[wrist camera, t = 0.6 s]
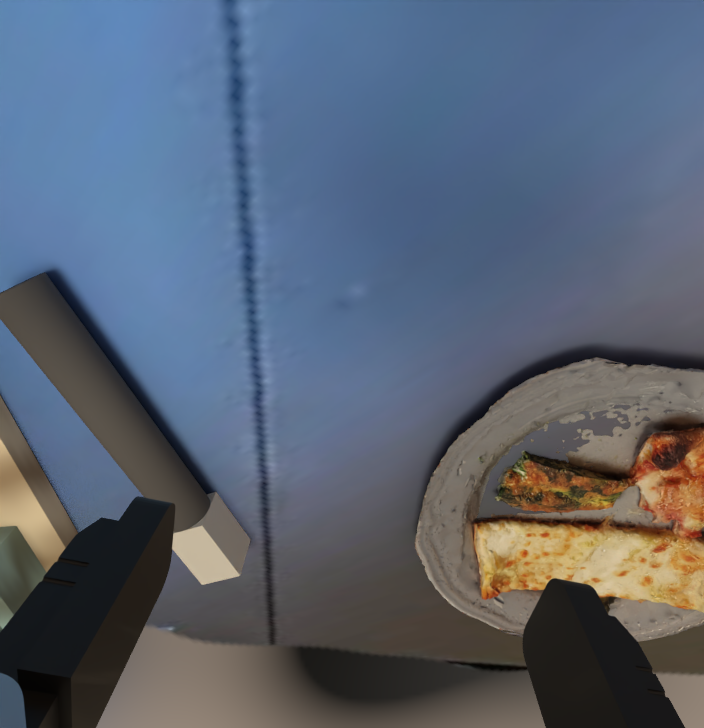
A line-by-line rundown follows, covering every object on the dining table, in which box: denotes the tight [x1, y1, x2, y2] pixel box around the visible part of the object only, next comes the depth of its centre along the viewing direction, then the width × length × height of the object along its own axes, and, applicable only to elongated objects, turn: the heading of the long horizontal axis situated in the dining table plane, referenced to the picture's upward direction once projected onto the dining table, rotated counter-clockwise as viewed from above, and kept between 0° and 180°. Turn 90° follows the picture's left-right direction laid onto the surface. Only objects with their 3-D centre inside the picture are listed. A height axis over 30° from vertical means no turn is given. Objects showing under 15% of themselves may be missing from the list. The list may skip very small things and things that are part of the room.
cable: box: [0, 272, 250, 585], centre depth 29 cm, size 22×3×3 cm, turn 22°
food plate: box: [415, 357, 704, 642], centre depth 31 cm, size 25×23×4 cm
